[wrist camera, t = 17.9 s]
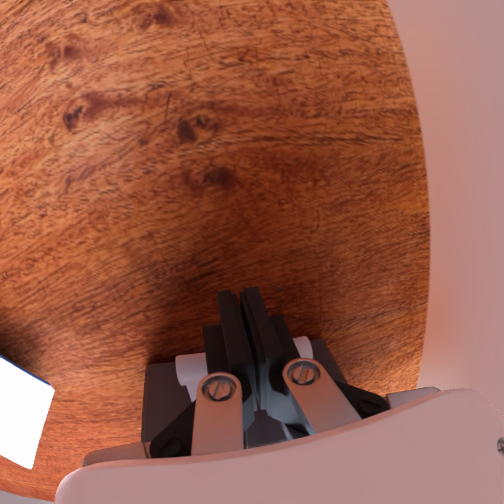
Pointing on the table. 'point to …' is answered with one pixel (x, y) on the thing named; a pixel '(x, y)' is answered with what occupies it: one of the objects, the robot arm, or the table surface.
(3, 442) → the plate
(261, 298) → the robot arm
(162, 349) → the table surface
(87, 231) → the table surface
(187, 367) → the drawer
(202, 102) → the table surface
